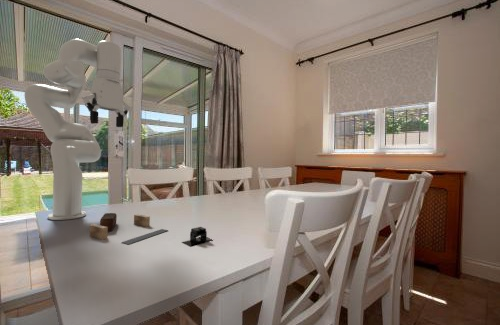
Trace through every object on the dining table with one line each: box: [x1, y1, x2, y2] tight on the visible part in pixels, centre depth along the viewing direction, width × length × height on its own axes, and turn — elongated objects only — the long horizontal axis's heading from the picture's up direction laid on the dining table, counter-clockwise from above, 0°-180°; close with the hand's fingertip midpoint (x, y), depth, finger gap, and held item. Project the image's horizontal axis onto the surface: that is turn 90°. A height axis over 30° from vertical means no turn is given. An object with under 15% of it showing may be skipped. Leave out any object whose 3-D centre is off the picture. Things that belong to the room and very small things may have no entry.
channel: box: [89, 213, 151, 240], centre depth 85 cm, size 6×18×4 cm, turn 154°
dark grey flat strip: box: [121, 228, 169, 246], centre depth 80 cm, size 3×16×1 cm, turn 154°
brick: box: [99, 212, 118, 233], centre depth 88 cm, size 11×4×5 cm, turn 22°
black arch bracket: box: [181, 226, 214, 248], centre depth 77 cm, size 12×7×5 cm, turn 136°
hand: (107, 125), depth 90 cm, fingers open, 9 cm apart
